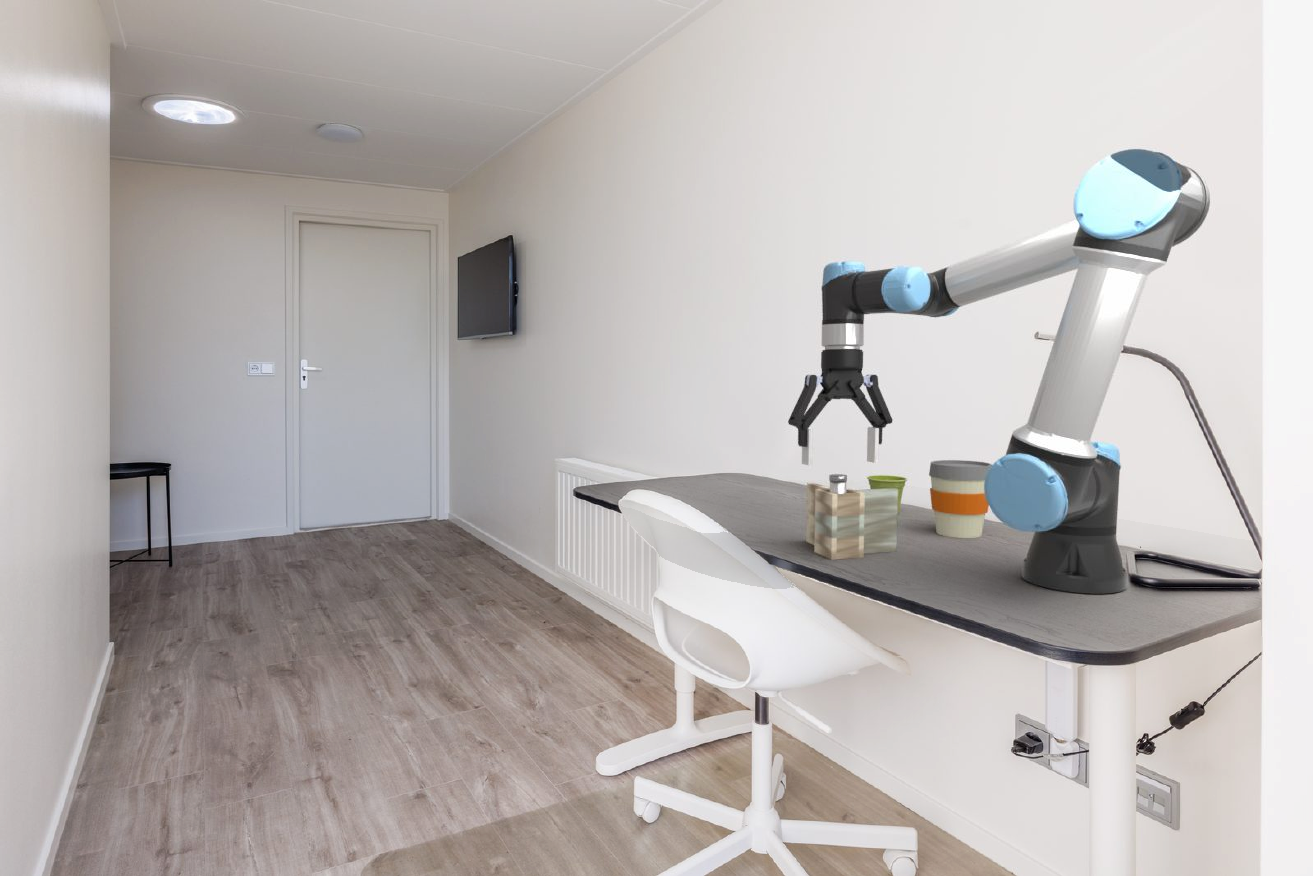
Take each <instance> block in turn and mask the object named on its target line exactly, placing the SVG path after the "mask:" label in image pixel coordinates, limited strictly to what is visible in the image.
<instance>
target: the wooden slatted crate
mask: <svg viewBox="0 0 1313 876" xmlns="http://www.w3.org/2000/svg"><path fill="white" fill-rule="evenodd" d="M897 504H898V489H896V488H886V489H871V488H870V489H869V488H868V489H851V488H848V487H846V493H838V494H834V493H831V492H830V486H826V485H823V484H819V483H814V482H807V483H806V530H805V531H806V532H805V533H806V536H805V541H806V543H808V544H811V545H813V546H814V547H813V548H814V553H816V554H818V555H821V556H822V557H825V558H826V559H829V560H830V561H833V560H836V561H837V560H846V559H848V560H849V559H860V558H862V559H863V558H865V557H864V554H874V553H877V554H878V553H891V552H897V546H898V545H897V541H898V540H897V538H898V537H897V536H898V514H897Z"/></svg>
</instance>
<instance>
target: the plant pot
mask: <svg viewBox="0 0 1313 876" xmlns="http://www.w3.org/2000/svg"><path fill="white" fill-rule="evenodd" d="M866 479H867V480H868V485H869V486H870V487H869V488H870V489H886V488H896V489H898V504H897V515H899V514H900V510H901V509H900V508H901V503H902V498H903V497H902V496H903V491H904V488H905V486H906V482H907V481H908V478H907V477H904V476H898V475H887V474H886V475H884V474H880V475H878V474H876V475H868V476H867V477H866Z"/></svg>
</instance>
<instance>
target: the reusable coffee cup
mask: <svg viewBox="0 0 1313 876" xmlns="http://www.w3.org/2000/svg"><path fill="white" fill-rule="evenodd" d="M992 465H993V464H992V463H989V462H984V461H976V460H957V459H954V460H953V459H951V460H950V459H949V460H948V459H947V460H945V459H943V460H933V461H931V462H930V466H929V471H928V472H929V473H928V475H929V477H930V481H931V483H930V484H931V487H930V488H929V492H930V502H931V509H932V511H933V512H934V513H933V514H934V521H935V531H936V534H937V535H940V536H942V537H943V536H944V537H948V538H956V539H959V538H960V539H976V538H980V537H982V535H983V530H984V529H983V528H984V523H985V522H984V521H985V518H986V517H985V516H986V514H987V513H988V511H989V508H990V506H989V504H988V503H987V501H986V497H985V493H984V482H985V477H986V474H987V472H988V470H989V469H990V467H991V466H992Z"/></svg>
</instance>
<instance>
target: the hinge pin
mask: <svg viewBox="0 0 1313 876" xmlns="http://www.w3.org/2000/svg"><path fill="white" fill-rule="evenodd" d="M828 478H829V479H828V480H829V487H830V492H831V493H834V494H838V493H846V488H847V481H848V475H847V474H842V473H841V474H840V473H838V474H837V473H835V474H833V473H831V474H829V475H828Z"/></svg>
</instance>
